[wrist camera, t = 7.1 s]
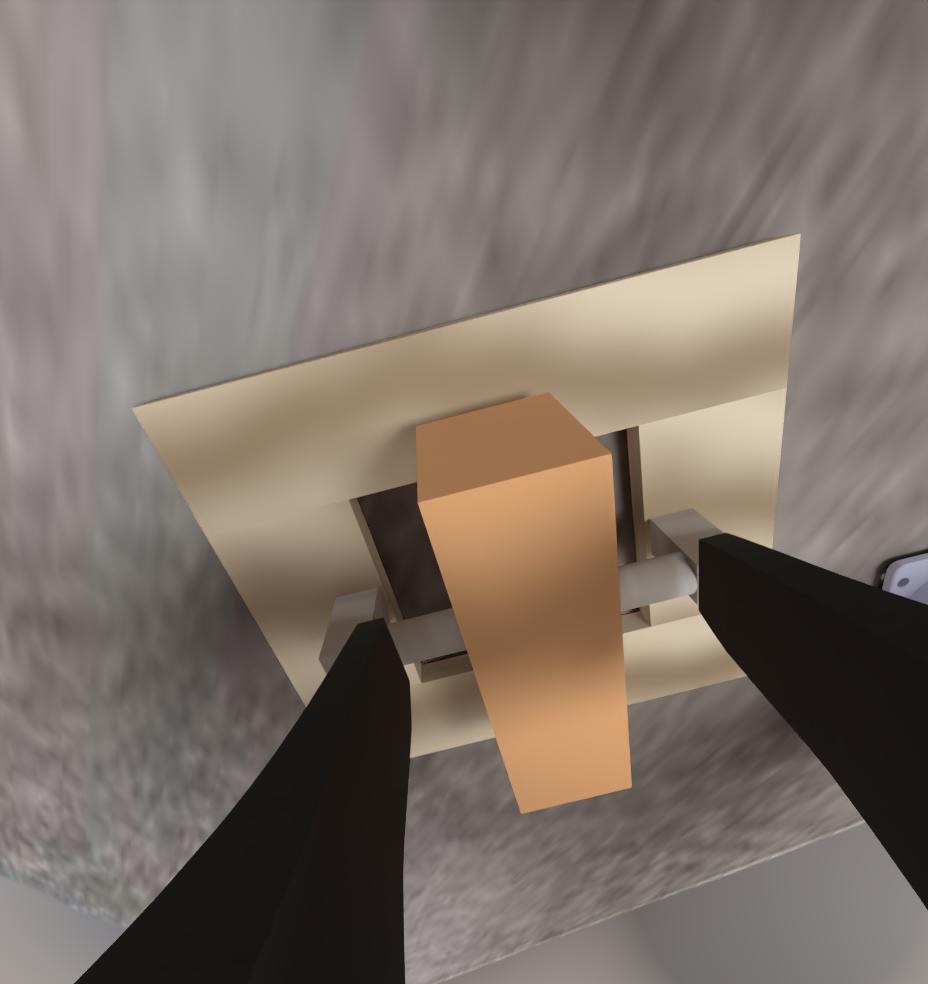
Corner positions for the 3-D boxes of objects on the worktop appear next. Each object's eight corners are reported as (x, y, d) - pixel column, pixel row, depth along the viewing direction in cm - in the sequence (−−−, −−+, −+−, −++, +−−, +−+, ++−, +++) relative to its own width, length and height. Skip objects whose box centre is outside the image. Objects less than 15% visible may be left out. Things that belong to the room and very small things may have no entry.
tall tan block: (586, 677, 19) (631, 787, 15) (498, 699, 19) (521, 814, 15) (548, 392, 12) (612, 453, 8) (415, 426, 12) (417, 502, 9)
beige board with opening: (745, 656, 21) (814, 732, 17) (348, 753, 21) (333, 848, 17) (774, 237, 13) (909, 214, 9) (151, 400, 13) (50, 439, 10)
